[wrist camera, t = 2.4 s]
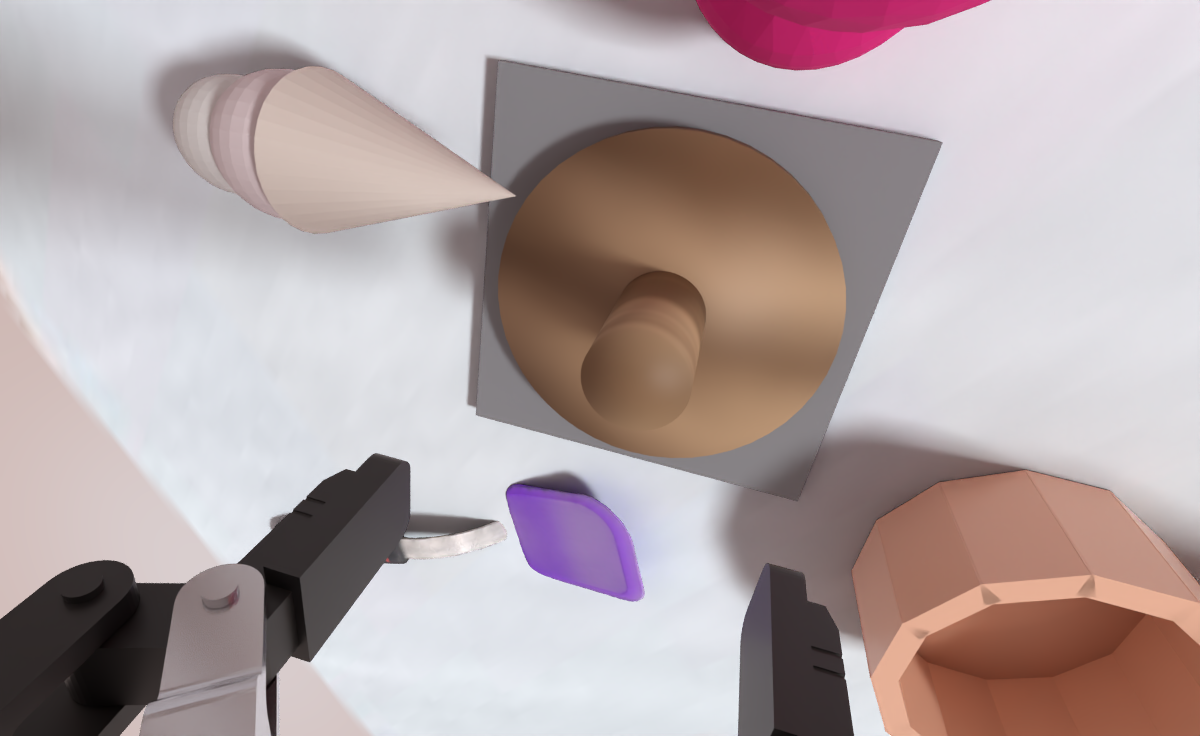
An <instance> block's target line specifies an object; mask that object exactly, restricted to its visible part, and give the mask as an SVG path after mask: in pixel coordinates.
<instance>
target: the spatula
mask: <svg viewBox="0 0 1200 736" xmlns="http://www.w3.org/2000/svg"><path fill="white" fill-rule="evenodd" d="M506 497H507V501H508V506H509V510H510V514H511V517H512V520H513V523H514V525H515V529H516V532H517V535H518V537H519V541H520V545H521V547H522V550H523V553H524V555H525V557H526V560H527V562H528V564H529V565H530V567H531V568H532V569H534V570H535V571H537V572H538V573H540V574H542V575H545V576H547V577H551V578H553V579H556V580H560V581H562V582H566V583H569V584H573V585H576V586H580V587H583V588H587V589H590V590H593V591H596V592H600V593H603V594H607V595H610V596H612V597H616V598H619V599H623V600H627V601H639V600H641V599H642V598H643V597H644V595H645V592H644V587H643V583H642V579H641V575H640V571H639V567H638V563H637V559H636V555H635V551H634V545H633V542H632V539H631V536H630V535H629V533H628V532H627V529H626V528H625V526H624V524H623V523H622V522H621V520H620V519H619V518H618V517H617V516H616V515H615V514H614V513H613V512H612V511H611V510H610V509H609V508H608V507H607V506H605V505H604V504H602V503H601V502H599V501H598V500H596V499H593V497H592V496H587V495H585V494H577V493H569V492H561V491H555V490H550V489H546V488H539V487H532V486H527V485H522V484H514V485H511V486H510V487H509V488H508V489H507V492H506ZM278 524H279V523H278ZM278 524H277V525H278ZM277 525H276V526H277ZM276 526H275V527H276ZM506 537H507V531H506V529H505V527H504V526H503V524H502V523H500V522H499V521H495V522H492V523H489V524H486V525H484V526H481V527H477V528H474V529H471V530H467V531H464V532H459V533H454V534H449V535H444V536H437V537H425V538H407V537H404V536H403V537H402V539H401V540H400V542H399V543H398V544H397V546H396V547H395V548H394V550H393V551H392V553H391V554H390V555H389V557H388V558H387V559H386V561H385V562H384V563H390V564H404V563H406V562H407V561H408V559H433V558H444V557H451V556H458V555H461V554H463V553H468V552H472V551H476V550H479V549H483V548H485V547H488V546H491V545H494V544H496V543H499V542H501V541H503V540H506Z"/></svg>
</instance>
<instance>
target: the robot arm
mask: <svg viewBox="0 0 1200 736" xmlns="http://www.w3.org/2000/svg"><path fill="white" fill-rule="evenodd" d="M409 518H410V465H409V463H408V462H406V461H403V460H399V459H396V458H392V457H389V456H385V455H381V454H378V453H375V454H373V455H371V456H370V457H369V458H368V459H367V460H366V461H365V462H364V463H363V464H362V465H361V466H360V467H359V468H358V470H357V471H356V472H355V471H351V470H348V469H345V470H343V471H341V472H339V473H337V474H335V475H333V476H331V477H329V478H327V479H325V480H323V481H322V482H321V483H320V484H319V485H318V486H317V487H316V488H315V489H314V490H313V491H312V492H311V493H310V494H309V495H308V496H307V498H306V500H303V501H302V502H301V503H300V504H298V505H297V506H296V507H295V508H294V509H293V512H292V513H289V514H288V515H287V516H286V517H285V518H284V519H283V520H282V521H281V522H280V523H279V524H278V525H277V526H276V527H275V528H274V529H273V530H272V531H271V532H270V533H269V534H268V535H267V536H265V537H264V538H263V539H262V540H261V541H260V542H259V543H258V544H257V545H256V546H255V547H254V548H253V549H252V550H251V551H250V552H249V553H248V554H247V555H246V556H245V557H244V558H243V559H242V560H241V561H240V562H238V563H237V564H225V565H220V566H216V567H213V568H211V569H208V570H205V571H203V572H201V573H200V574H198V575H196V576H195V577H193V578H192V579H191V580H189V581H188V582H187V583H180V584H176V583H171V584H169V583H136V582H135V578H134V575H133V572H132V570H131V569H130V568H129V567H128V566H127V565H125V564H123V563H120V562H117V561H109V560H103V561H94V562H89V563H85V564H81V565H78V566H75V567H73V568H71V569H69V570H66V571H64V572H62V573H60V574H59V575H57V576H55V577H54V578H52V579H51V580H49V581H48V582H47V583H46V584H44V585H43V586H42V587H40V588H39V589H38V590H37V591H35V592H34V593H33V594H32V595H30V596H29V597H28V598H27V599H25V600H24V601H23V602H22V603H20V604H19V605H18V606H17V607H15V608H14V609H13V610H12V611H10V612H9V613H8V614H7V615H5V616H4V617H3V618H1V619H0V736H120V734H121V733H122V732H123V731H124V730H125V729H126V728H127V727H128V725H129V724H130V723H131V722H132V721H133V720H134V718H135V717H136V716H137V715H138V714H139V713H140V712H141V710H142V709H143V708H144V707H145V706H146V705H147V706H146V709H145V711H144V715H143V719H142V724H141V730H140V735H139V736H279V671H280V669H281V668H282V667H283V665H284V664H285V663H286V662H287V660H288V659H289V658H290V657H291V656H292V657H295V658H298V659H301V660H304V661H307V662H311V660H312V659H313V658H314V656H315V655H316V654H317V652H318V651H319V650H320V648H321V647H322V646H323V644H324V643H325V642H326V640H327V639H328V637H329V636H330V635H331V633H332V632H333V631H334V629H335V628H336V627H337V625H338V624H339V623H340V621H341V620H342V619H343V617H344V616H345V615H346V613H347V612H348V611H349V609H350V608H351V606H352V605H353V604H354V602H355V601H356V600H357V598H358V597H359V596H360V594H361V593H362V592H363V590H364V589H365V588H366V586H367V585H368V584H369V582H370V581H371V579H372V578H373V577H374V575H375V574H376V573H377V571H378V570H379V569H380V567H381V566H382V565H383V563H384V562H385V561H386V559H387V558H388V557H389V555H390V554H391V553H392V551H393V550H394V548H395V547H396V546H397V544H398V543H399V542H400V540H401V539H402V537H403V535H404V533H405V531H406V528H407V526H408V522H409ZM844 677H845V671H844V664H843V659H842V650H841V643H840V636H839V630H838V628H837V626H836V625H835V623H834V621H833V619H832V618H831V616H830V614H829V612H828V610H827V609H826V607H825V606H822V605H819V604H815V603H812V602H808V601H807V594H806V584H805V577H804V574H803V573H801V572H798V571H794V570H791V569H787V568H783V567H780V566H776V565H773V564H769V563H767V564H766V565H765V566H764V568H763V571H762V573H761V576H760V578H759V581H758V583H757V586H756V588H755V591H754V594H753V596H752V599H751V601H750V604H749V606H748V609H747V612H746V615H745V618H744V622H743V627H742V634H741V646H740V683H739V720H738V736H854V733H853V726H852V719H851V712H850V705H849V698H848V691H847V684H846V680H845V679H844Z"/></svg>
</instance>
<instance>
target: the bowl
mask: <svg viewBox="0 0 1200 736" xmlns="http://www.w3.org/2000/svg"><path fill="white" fill-rule="evenodd" d="M851 572H852V577H853V583H854V589H855V594H856V600H857V606H858V611H859V617H860V623H861V628H862V634H863V640H864V646H865V651H866V657H867V663H868V668H869V674H870V678H871V681H872V684H873V688H874V691H875V695H876V698H877V702H878V706H879V709H880V713H881V716H882V720H883V723H884V727H885V731H886V732H887V733H889V734H890V735H891V736H1200V584H1199V583H1198V582H1197V581H1196V580H1195V578H1194V577H1193V576H1192V575H1191V574H1190V572H1189V571H1188V570H1187V569H1186V568H1185V566H1184V565H1183V564H1182V563H1181V562H1180V560H1179V559H1178V558H1177V557H1176V556H1175V554H1174V553H1173V552H1172V551H1171V550H1170V548H1169V547H1168V546H1167V545H1166V544H1165V542H1164V541H1163V540H1162V539H1161V538H1160V537H1158V536H1157V535H1156V534H1155V533H1154V532H1153V531H1152V530H1151V529H1150V528H1149V527H1148V526H1147V525H1146V524H1145V523H1144V522H1143V521H1141V520H1140V519H1139V518H1138V517H1137V516H1136V515H1135V514H1134V513H1133V512H1132V511H1131V510H1130V509H1129V508H1128V507H1127V506H1126V505H1124V504H1123V503H1122V502H1121V501H1120V500H1119V499H1118V498H1117V497H1116V496H1115V495H1114V494H1113V493H1112V492H1111V491H1110V490H1104V489H1100V488H1096V487H1092V486H1088V485H1084V484H1080V483H1076V482H1072V481H1068V480H1064V479H1060V478H1056V477H1052V476H1048V475H1044V474H1040V473H1036V472H1032V471H1028V470H1022V471H1015V472H1008V473H1001V474H994V475H987V476H980V477H973V478H966V479H959V480H952V481H945V482H938V483H937V484H935V485H934V486H932V487H930V488H929V489H927V490H925V491H924V492H922V493H921V494H919V495H917V496H916V497H914V498H912V499H911V500H909V501H907V502H906V503H904V504H903V505H901V506H899V507H898V508H896V509H894V510H893V511H891V512H889V513H888V514H886V515H885V516H883V517H881V518H880V519H878V520H876V522H875V524H874V526H873V528H872V530H871V532H870V534H869V536H868V538H867V540H866V542H865V544H864V546H863V548H862V551H861V553H860V555H859V557H858V559H857V561H856V563H855V565H854V567H853V569H852V571H851Z"/></svg>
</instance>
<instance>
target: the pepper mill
mask: <svg viewBox="0 0 1200 736" xmlns="http://www.w3.org/2000/svg"><path fill="white" fill-rule="evenodd" d="M988 1H990V0H696V2H697V4H698V6H699V9H700V11H701V12H702V14H703V15H704V17H705V18H706V20H707V21H708V23H709V24H710V26H711V27H712V28H713V29H714V30H715V32H716V33H717V34H718V35H719V36H720V37H721V38H722V39H723V40H724V41H725V42H726V43H727V44H729V45H730V46H731V47H733V48H734V49H735V50H736V51H738V52H739V53H741V54H743V55H744V56H746V57H748V58H750V59H752V60H754V61H756V62H759V63H762V64H765V65H768V66H771V67H775V68H781V69H789V70H813V69H820V68H825V67H830V66H835V65H839V64H841V63H844V62H847V61H849V60H852V59H854V58H857V57H860V56H862V55H863V54H865V53H867V52H869V51H870V50H872V49H874V48H876V47H878V46H879V45H881V44H882V43H884V42H885V41H887V40H888V39H889V38H891V37H892V36H893V35H895V34H896V33H898V32H899V31H900V30H902V29H903V28H904V27H912V26H919V25H927V24H929V23H932V22H935V21H938V20H940V19H943V18H946V17H949V16H951V15H954V14H957V13H959V12H962V11H965V10H968V9H970V8H973V7H976V6H978V5H981V4H983V3H986V2H988Z"/></svg>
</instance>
